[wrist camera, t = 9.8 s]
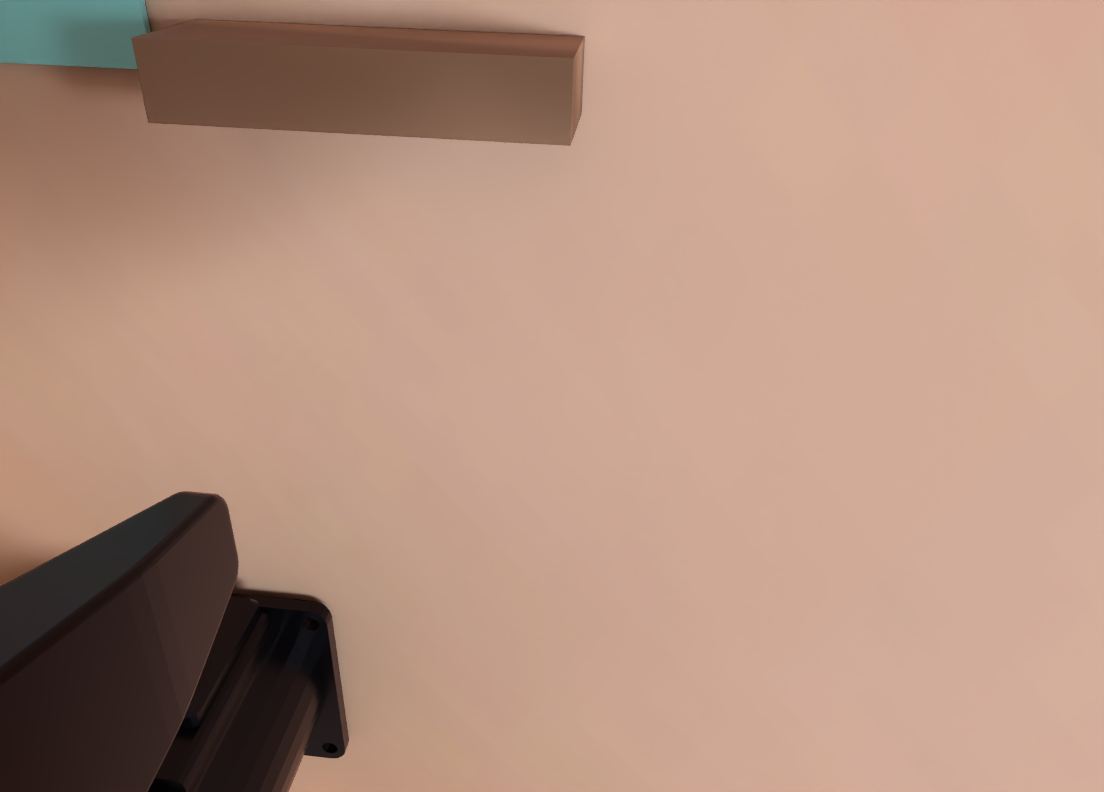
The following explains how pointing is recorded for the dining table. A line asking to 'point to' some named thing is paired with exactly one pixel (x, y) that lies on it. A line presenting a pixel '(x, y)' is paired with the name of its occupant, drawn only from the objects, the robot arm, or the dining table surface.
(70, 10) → the teal pad
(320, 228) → the dining table surface
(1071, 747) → the dining table surface
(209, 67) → the brown bar
